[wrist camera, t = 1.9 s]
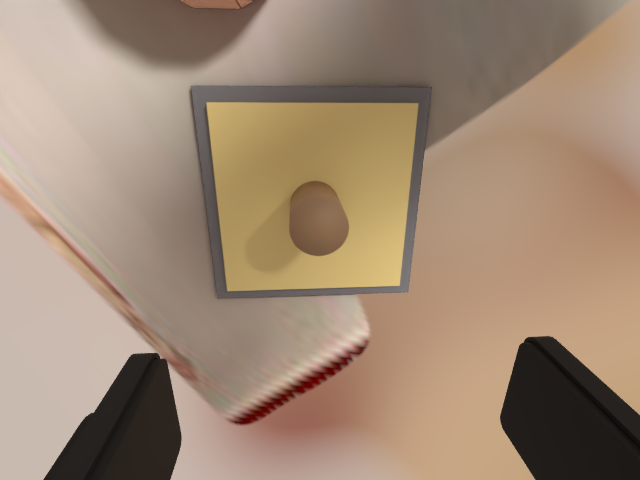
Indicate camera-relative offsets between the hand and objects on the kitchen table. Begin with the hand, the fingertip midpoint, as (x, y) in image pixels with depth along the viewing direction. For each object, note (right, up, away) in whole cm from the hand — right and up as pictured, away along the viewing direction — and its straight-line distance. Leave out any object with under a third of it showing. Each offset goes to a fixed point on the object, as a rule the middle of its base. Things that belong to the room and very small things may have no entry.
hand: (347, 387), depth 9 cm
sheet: (-1, +7, +17) cm, 18 cm away
